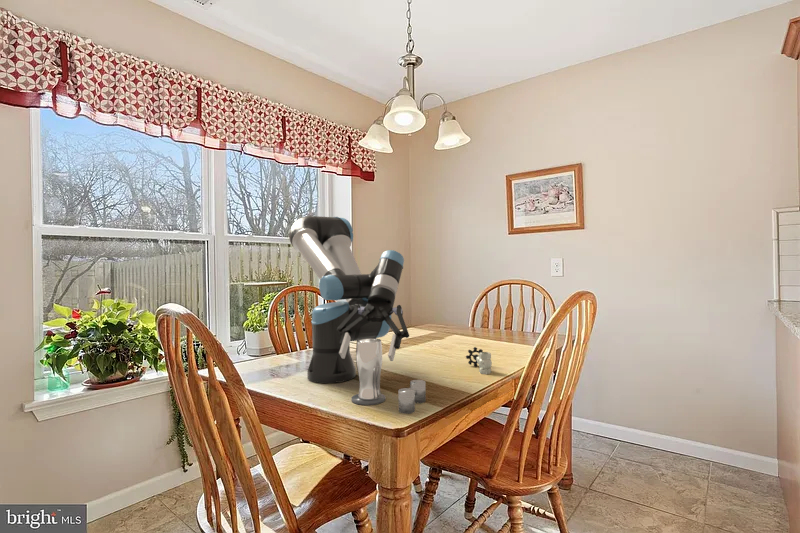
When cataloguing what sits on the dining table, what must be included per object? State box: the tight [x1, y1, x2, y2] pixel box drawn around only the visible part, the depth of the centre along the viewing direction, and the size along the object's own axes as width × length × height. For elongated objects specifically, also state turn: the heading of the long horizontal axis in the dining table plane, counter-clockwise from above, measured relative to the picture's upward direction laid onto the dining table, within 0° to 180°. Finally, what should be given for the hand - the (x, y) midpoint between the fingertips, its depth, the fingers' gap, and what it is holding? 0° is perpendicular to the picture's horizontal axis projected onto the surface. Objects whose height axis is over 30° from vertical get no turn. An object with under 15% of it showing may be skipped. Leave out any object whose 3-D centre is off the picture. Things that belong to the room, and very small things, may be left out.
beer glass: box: [355, 338, 383, 400], centre depth 116 cm, size 7×7×15 cm
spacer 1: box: [397, 387, 416, 415], centre depth 107 cm, size 4×4×5 cm
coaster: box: [350, 393, 386, 406], centre depth 116 cm, size 9×9×1 cm
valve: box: [465, 346, 492, 375], centre depth 146 cm, size 7×7×12 cm
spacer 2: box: [409, 379, 427, 404], centre depth 115 cm, size 4×4×5 cm
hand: (365, 357), depth 115 cm, fingers open, 13 cm apart
